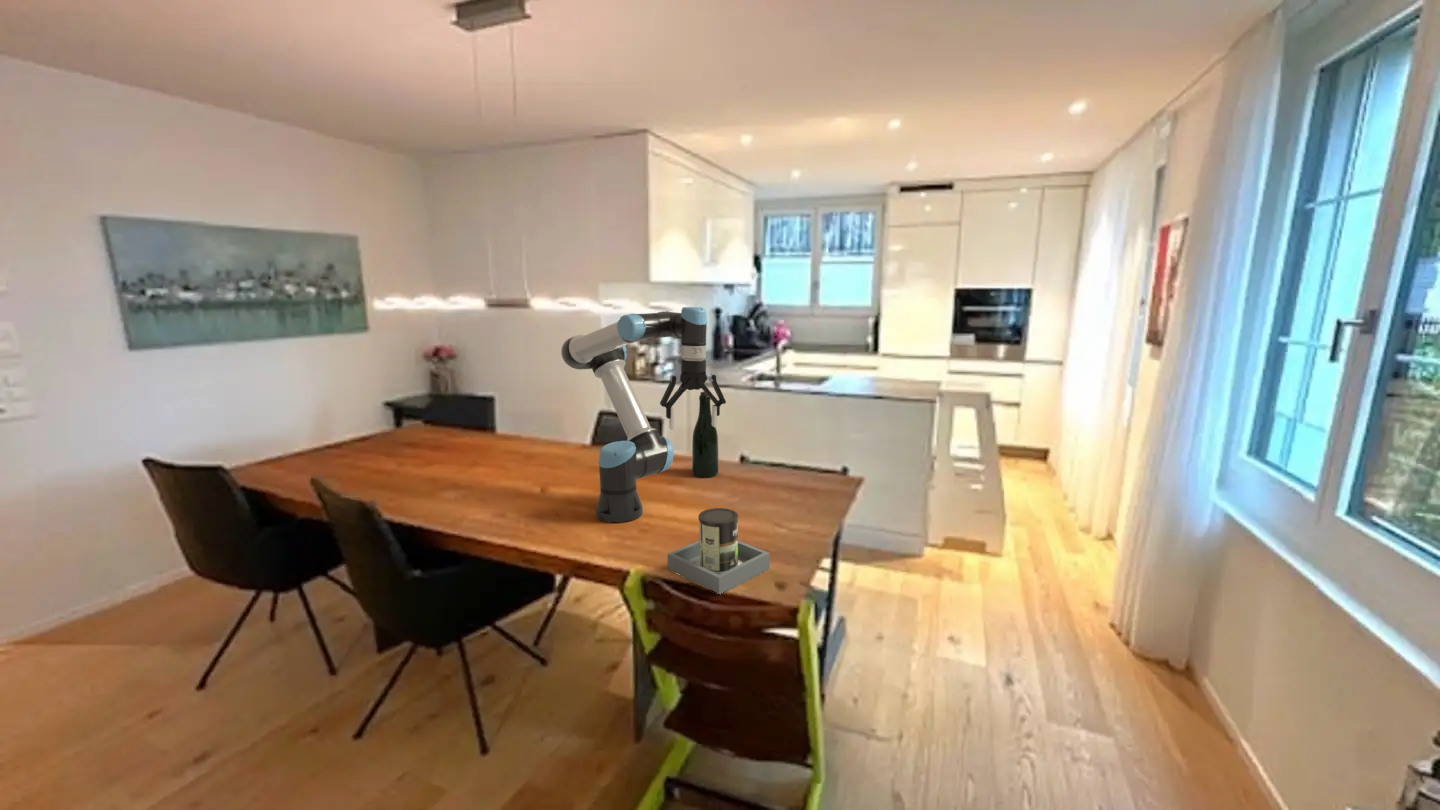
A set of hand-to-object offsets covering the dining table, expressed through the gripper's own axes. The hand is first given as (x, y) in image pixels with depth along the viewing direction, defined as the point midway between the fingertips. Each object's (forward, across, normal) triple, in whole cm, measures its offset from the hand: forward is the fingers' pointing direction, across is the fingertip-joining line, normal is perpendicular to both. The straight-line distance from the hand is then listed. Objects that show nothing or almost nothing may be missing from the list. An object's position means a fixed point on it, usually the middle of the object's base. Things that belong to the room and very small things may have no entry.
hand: (693, 427), depth 186 cm
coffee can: (+29, -2, -35) cm, 45 cm away
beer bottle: (+31, +17, +43) cm, 56 cm away
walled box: (+30, -2, -35) cm, 46 cm away
